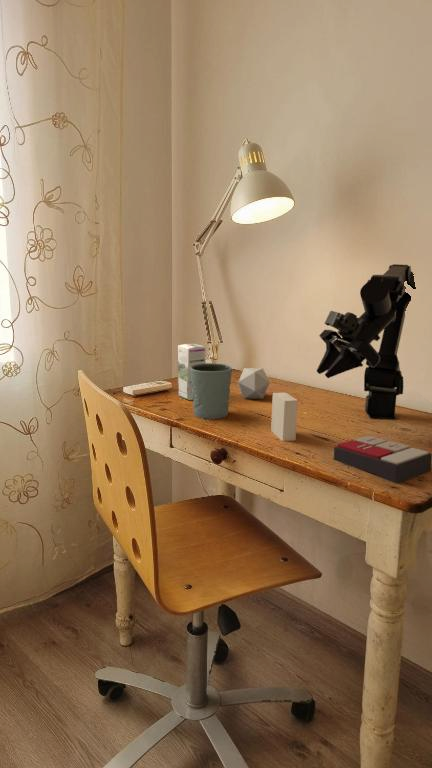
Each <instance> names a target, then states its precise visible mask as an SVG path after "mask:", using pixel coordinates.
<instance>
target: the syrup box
mask: <svg viewBox="0 0 432 768" xmlns="http://www.w3.org/2000/svg"><path fill="white" fill-rule="evenodd" d="M203 363H206V346H204V345H200V344H196V343H183V344H178V345H177V396H178V397H181V398H183V399H185V400H187V401H194V399H193V393H192V392H193V391H192V389H193V386H192V382H191V371H190V367H191V366H193V365H196V364H203Z"/></svg>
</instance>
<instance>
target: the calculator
mask: <svg viewBox="0 0 432 768" xmlns="http://www.w3.org/2000/svg"><path fill="white" fill-rule="evenodd" d="M333 460H334V461H336V462H339V463H341V464H344V465H346V466H349V467H352V468H355V469H359V470H361V471H364V472H366V473H371V474H374V475H376V477H378V478H381V479H383V480H386V481H388V482H391V483H394V484H400V483H404V482H406V481H408V480H411V479H413V478H416V477H419V476H421V475H425V474H427V473H430V472H431V468H432V453H430V452H429V451H427V450H426V451H425V450H422V449H418V448H416V447H410V445H407V444H403V443H399V442H396V441H391V440H386V439H384V438H379V437H376V436H372V435H365V436H362V437H359V438H355V439H354V440H346V441H344V442H341V443H338V444H337V445H336V446H334V447H333Z"/></svg>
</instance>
